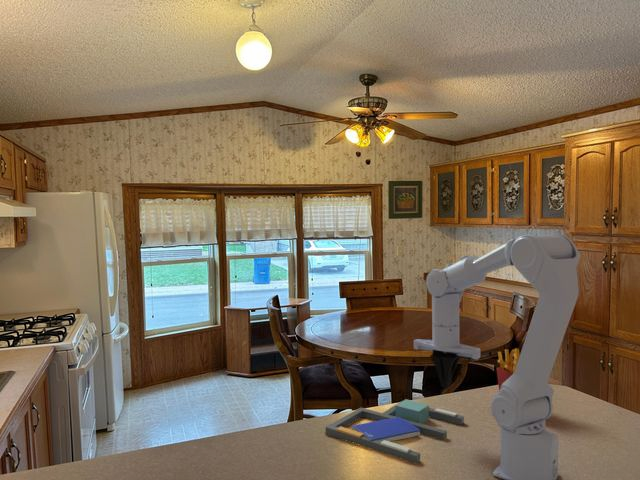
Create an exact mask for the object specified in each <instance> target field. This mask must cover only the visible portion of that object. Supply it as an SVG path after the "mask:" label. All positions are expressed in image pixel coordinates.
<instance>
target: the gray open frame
mask: <svg viewBox="0 0 640 480" xmlns="http://www.w3.org/2000/svg"><path fill="white" fill-rule="evenodd" d="M361 417H362V418H365V417H366V418H365V419H368V418H369V419H368V420H372V419H373V420H372V421H375V420H376V421H380V420H385V419H391V418H396V416H395V417H394V416H391V415H387V414H383V412H379V411H376V410H371V409H367V408H365V407H359V408H357V409H355V410H353V411H351V412H350V413H348V414H346V415H345V416H343V417H341V418H339V419H336V420H335V421H334V422H332V423H330V424H329V425H327V426H325V435H328V436H330V437H331V436H332V437H334V438H337V439H341V440H343V439H344V440H343V441H346V440H347V441H346V442H349V441H350V443H352V442H354V443H353V444H355V443H356V444H355V445H358V444H359V445H358V446H362V447H364V448H367V449H371V450H374V451H377V452H380V453H383V454H386V455H389V456H392V457H395V458H398V459H401V460H404V461H406V462H410V463H413V464H418V463H419V462H421V453H420V452H417V451H414V450H412V448H411V447H408V446H405V445H402V444H399V443H396V442H394V441H390V442H389V441H386V440H384V441H380V440H374V441H370V440H368V439H367V438H366V437H365V436H363V434H364V433H360V432H357V431H354V430H351V429H350V428H348V426H350V425H352V424H353V423H355V422H356V421H355V420H357V419H358V420H360V419H361ZM359 418H360V419H359ZM358 420H357V421H358ZM404 420H405V419H404ZM354 421H355V422H354ZM405 421H407V422H409V423H410V424H412V425H414V426H415V427H417V428H418V429H419V430H420V435H425V436H427V437H431V438H435V439H439V440H442V441H445V439H447V437H448V434H447V433H448V431H447V430H445V429H441V428H438V427H434V426H430V425H427V424H425V423H424V424H420V423H416V422H413V421H409V420H405ZM352 422H353V423H352ZM351 423H352V424H351ZM349 424H350V425H349Z"/></svg>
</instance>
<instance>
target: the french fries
mask: <svg viewBox="0 0 640 480" xmlns="http://www.w3.org/2000/svg"><path fill="white" fill-rule="evenodd" d="M509 351H510V350H509V349H508V348H505V349H504V354H505V355H504V357H505V361H504V359H503V354H502V351H497V356H498V359H497V363H498V364H499V366H498V367H496V376H497V384H498V392H499V391H500V388H501V385H502V384H503V383H504V382H505V381H506V380H507V379H508V378H509V377H510V376H512V375H513V374H514V372H515V369H516V366H517V363H518V360H519V357H520V354H521V352H520V349H519V348H517V347H515V348H514V349H511V351H510V353H509Z"/></svg>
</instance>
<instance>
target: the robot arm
mask: <svg viewBox="0 0 640 480" xmlns="http://www.w3.org/2000/svg"><path fill="white" fill-rule="evenodd" d="M580 258H581V253H580V252H579V250H578V248H577V247H576V245H575V244H574V242H573V240H572V239H571V238H570V237H569V236H567V235H564V234H561V233H558V234H557V233H556V234H551V235H549V234H548V235H528V234H527V235H526V234H525V235H521V236H518V237H517V238H514V239H513V238H512V239H509V240H508V241H507V242H506V243H504V244H502V245H500V246H498V247H496V248H495V249H493V250H491V251H489V252H487V253H486V254H484V255H482V256H480V257H477V256H474V255H468V254H467V255H465V254H464V255H462V256H460V260H459V261H456V262H454V263H448V264H446V265H445V268H443V269H438V268H434V269H431V271H429V272H428V274H427V276H426V282H425V284H426V289H427V291H428V292H429V294H430V295H431V298H432V299H431V303H432V304H431V306H432V307H431V311H432V312H431V317H432V319H431V323H432V325H431V326H432V327H431V330H432V331H431V332H432V336H431V337H432V339H420V338H417V339H414V340H413V349H414V350H423V351H431V352H432V354H431V355H430V360H431V361H432V363H433V365H434V367H435V369H436V372H437V375H438V377H439V378H438V379H439V382H440V387H441V388H445V389H448V388H449V387H452V386H451V385H452V380H453V377H454V373H455V371H456V368H457V366H458V363H459V362H460V359H462V357H465V358H471V359H472V360H479V359H480V358H481V348H479V347H475V346H470V345H466V344H463V343H460V342H461V341H460V340H461V339H460V303H461V302H462V296H463V293H464V292H465V290H467V289H469V288H471V287H474V286H476V285H479V284H481V283H483V282H484V281H485V280H486V277H487V274H490V273H492V272H495V271H497V270H499V269H503V268H506V267H509V266H510V267H513V266H514V267H515V269H516V270H517V271H518V272H519V273H520V274H521V275H522V277H523V278H524V279H525V280H526V281H527V282H528V283H529V284H530V285H531V286H532V288H533V289H534V290H536V292H537V293H538V295H539V296H538V300H537V302H536V306H535V308H534V311H533V314H532V316H531V317H532V318H531V320H530V323H529V327H528V330H527V333H526V336H525V340H524V343H523V345H522V348H521V351H520V357H519V360H518V363H517V366H516V369H515V372H514V374H513V375H512V376H510V377H509V378H508V379H507V380H506V381H505V382H504V383H503V384H502V385H501V388H500V391H499V390H498V392H497V393H495V394H494V395H493V397H492V398H491V402H490V409H491V413H492V416H493V419H494V420H495V422H497V426H498V427H499V428H500V463H499V464H498V465H497V467H496V468H495V469H494V471H493V472H492V476H494V477H496V478H499V479H503V480H557V479H558V477H559V474H560V472H559V439H558V438H559V437H558V434H556V433H554V432H551V431H548V430H547V429H546V428H544V427H546V420H548V419H549V418H551V415H552V414H553V407H554V405H553V395H554V392H555V390H554V388H553V387H552V386H551V384H550V383H549V382H548V381H549V380H550V376H551V373H552V371H553V367H554V365H555V362H556V359H557V356H558V353H559V351H560V348H561V345H562V343H563V341H564V337H565V334H566V331H567V328H568V326H569V322H570V320H571V317H572V314H573V312H574V309H575V306H576V304H577V301H578V298H579V290H580V289H579V279H578V264H579V261H580V260H581V259H580Z"/></svg>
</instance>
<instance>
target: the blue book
mask: <svg viewBox="0 0 640 480" xmlns="http://www.w3.org/2000/svg"><path fill="white" fill-rule="evenodd" d="M395 417H396V416H395ZM350 428H351V430H354V431H357V432H360V433H364V434H363V436H365V437H366V438H367V439H368V440H370V441H374V440H380V441H384V440H386V441H389V442H394V441H399V440H403V439H407V438H412V437H413V438H414V437H416V436H420V435H421V434H420V430H419V429H418V428H417V427H415V426H414V425H412V424H410V423H409V422H407V421H405V420H404V419H402V418H400V417H396V418H391V419H385V420H380V421H375V420H373V421H370V422H365V423H364V422H363V423H359V424H355V425H354V424H353V425H351V427H350Z"/></svg>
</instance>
